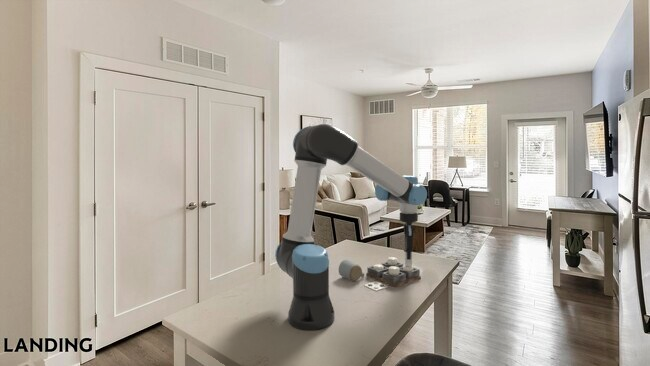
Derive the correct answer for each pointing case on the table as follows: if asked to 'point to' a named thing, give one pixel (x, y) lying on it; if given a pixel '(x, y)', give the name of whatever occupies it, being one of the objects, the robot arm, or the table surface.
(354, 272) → the ceramic mug
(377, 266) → the button near left
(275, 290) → the table surface
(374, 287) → the card
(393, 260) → the button far left
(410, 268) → the button far right
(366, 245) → the table surface
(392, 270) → the button near right
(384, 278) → the button board
